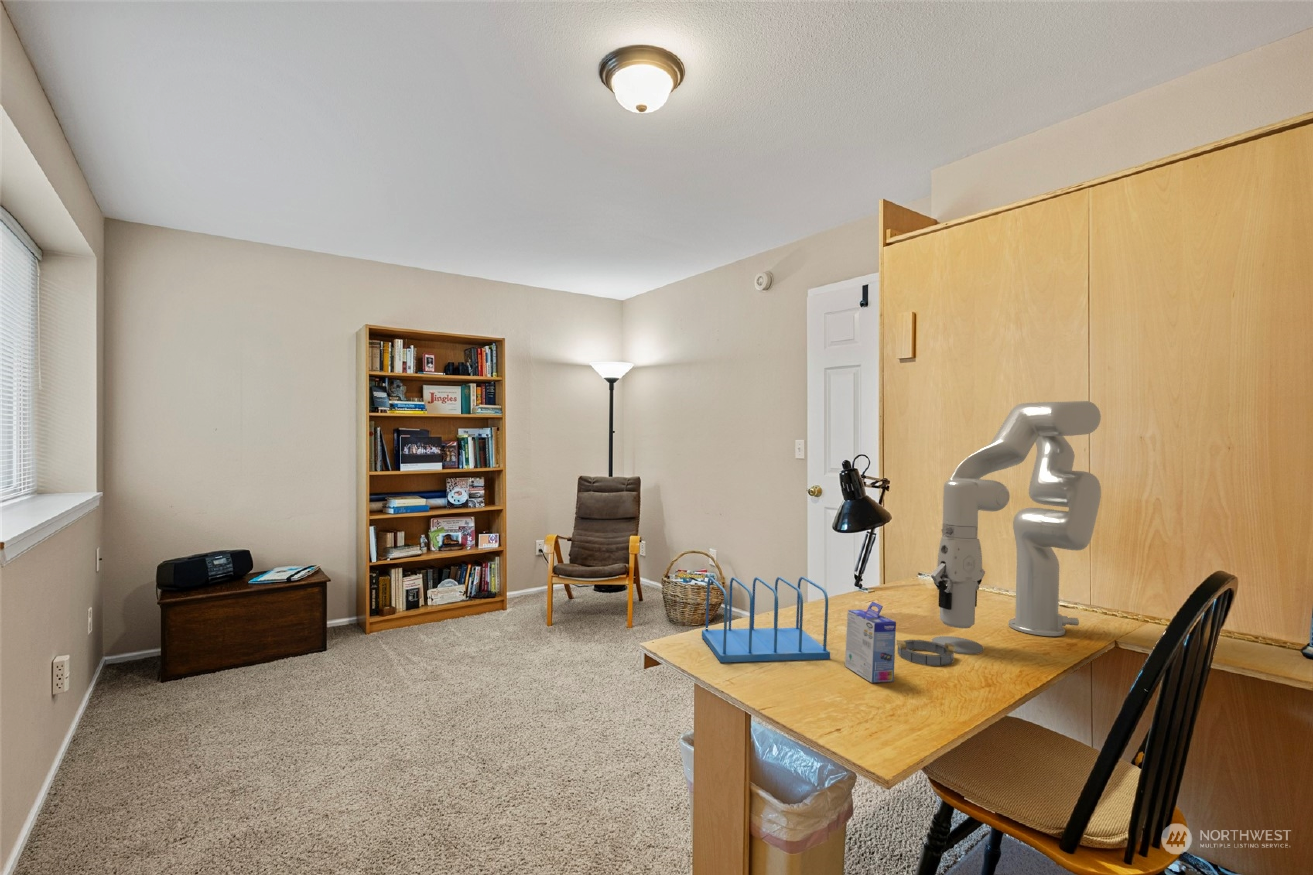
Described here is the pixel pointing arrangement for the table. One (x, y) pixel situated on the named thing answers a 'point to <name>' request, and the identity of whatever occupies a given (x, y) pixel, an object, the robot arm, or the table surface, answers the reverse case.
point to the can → (960, 605)
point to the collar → (926, 659)
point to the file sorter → (764, 632)
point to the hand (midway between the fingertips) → (957, 606)
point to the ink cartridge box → (870, 644)
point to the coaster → (960, 644)
